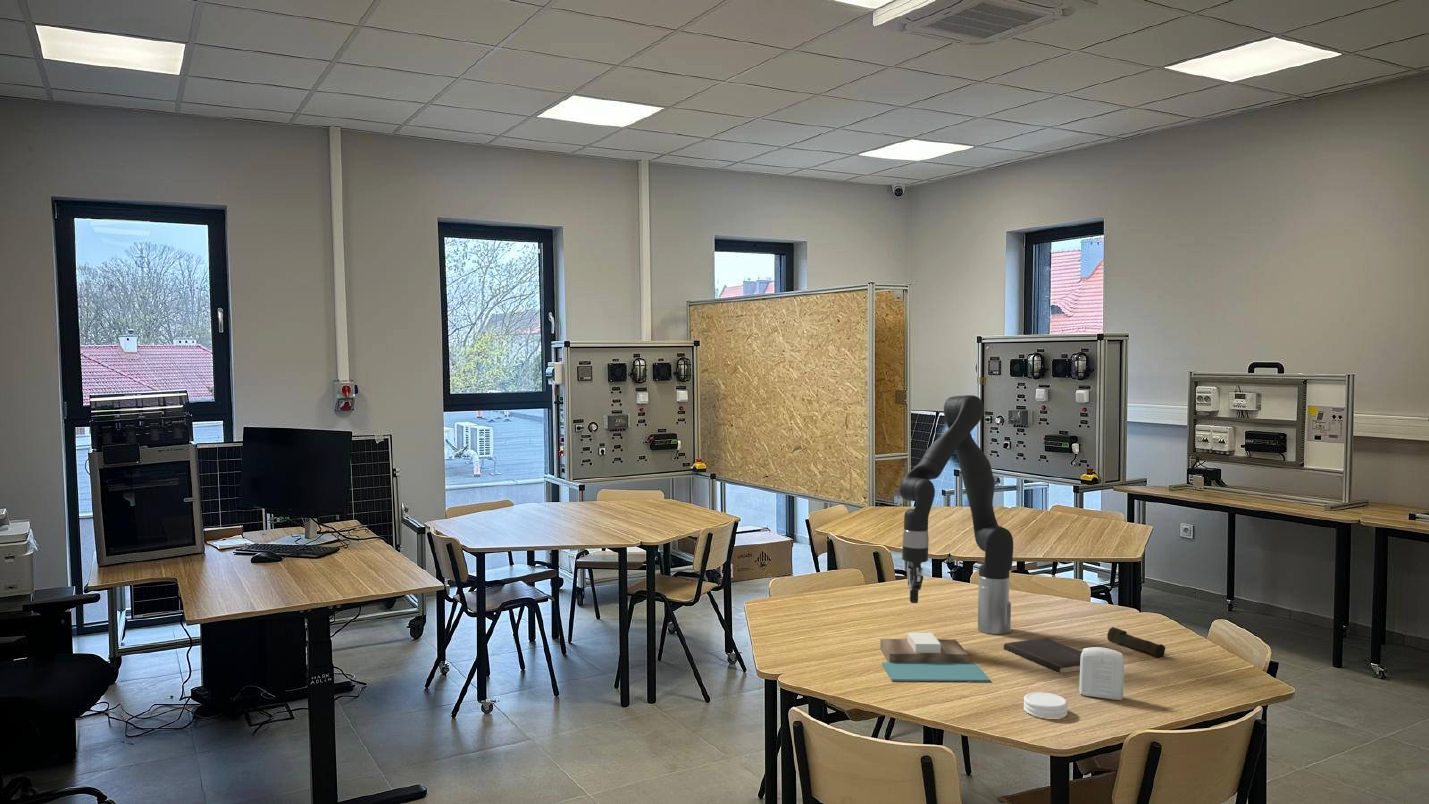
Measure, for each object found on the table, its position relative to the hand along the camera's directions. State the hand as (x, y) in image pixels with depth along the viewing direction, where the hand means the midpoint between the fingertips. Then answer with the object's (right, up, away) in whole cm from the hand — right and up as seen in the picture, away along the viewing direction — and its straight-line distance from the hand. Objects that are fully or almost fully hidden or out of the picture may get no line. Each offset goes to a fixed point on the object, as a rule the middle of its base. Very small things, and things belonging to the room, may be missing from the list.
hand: (913, 602), depth 278 cm
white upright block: (+38, -15, -43) cm, 59 cm away
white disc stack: (+20, -15, -54) cm, 59 cm away
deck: (0, -13, -12) cm, 18 cm away
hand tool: (+64, -14, -3) cm, 65 cm away
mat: (0, -14, -26) cm, 29 cm away
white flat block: (0, -10, -12) cm, 16 cm away
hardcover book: (+37, -14, -12) cm, 41 cm away
